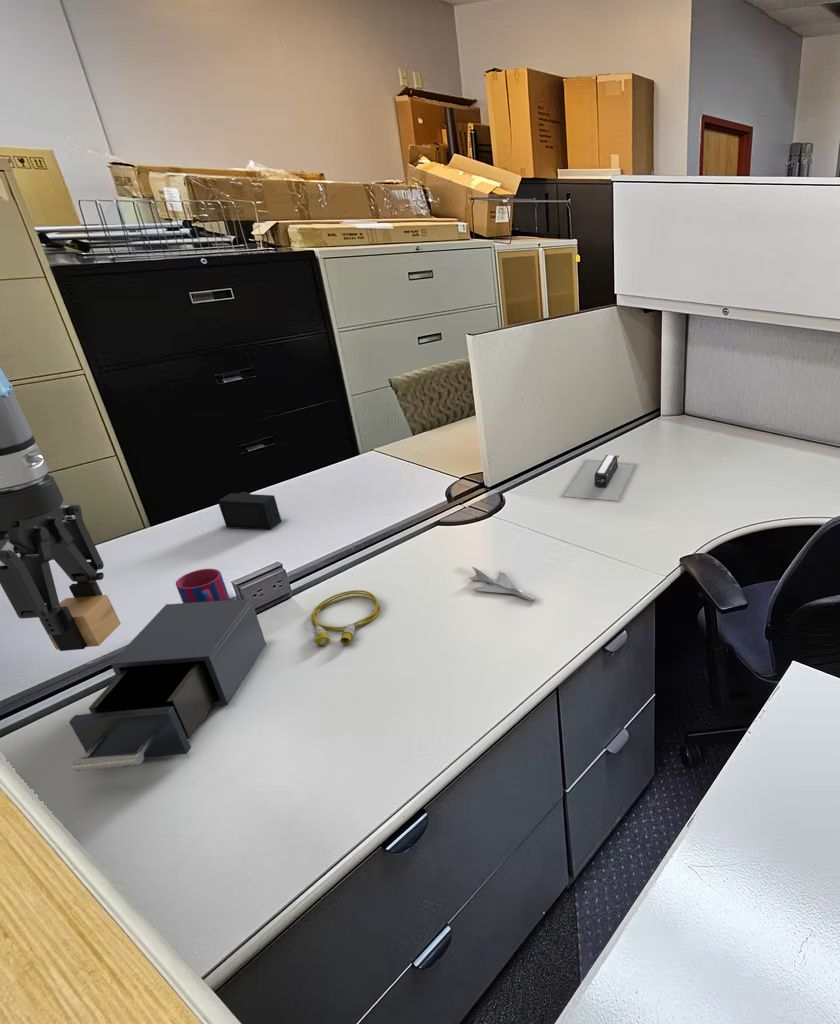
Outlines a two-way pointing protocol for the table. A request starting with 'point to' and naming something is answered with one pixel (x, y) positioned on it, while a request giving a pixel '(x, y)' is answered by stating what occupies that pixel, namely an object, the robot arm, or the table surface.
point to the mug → (202, 586)
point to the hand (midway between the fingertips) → (87, 634)
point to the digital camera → (249, 511)
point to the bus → (601, 480)
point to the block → (91, 618)
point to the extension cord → (348, 630)
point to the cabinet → (201, 641)
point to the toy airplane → (499, 585)
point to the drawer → (144, 715)
